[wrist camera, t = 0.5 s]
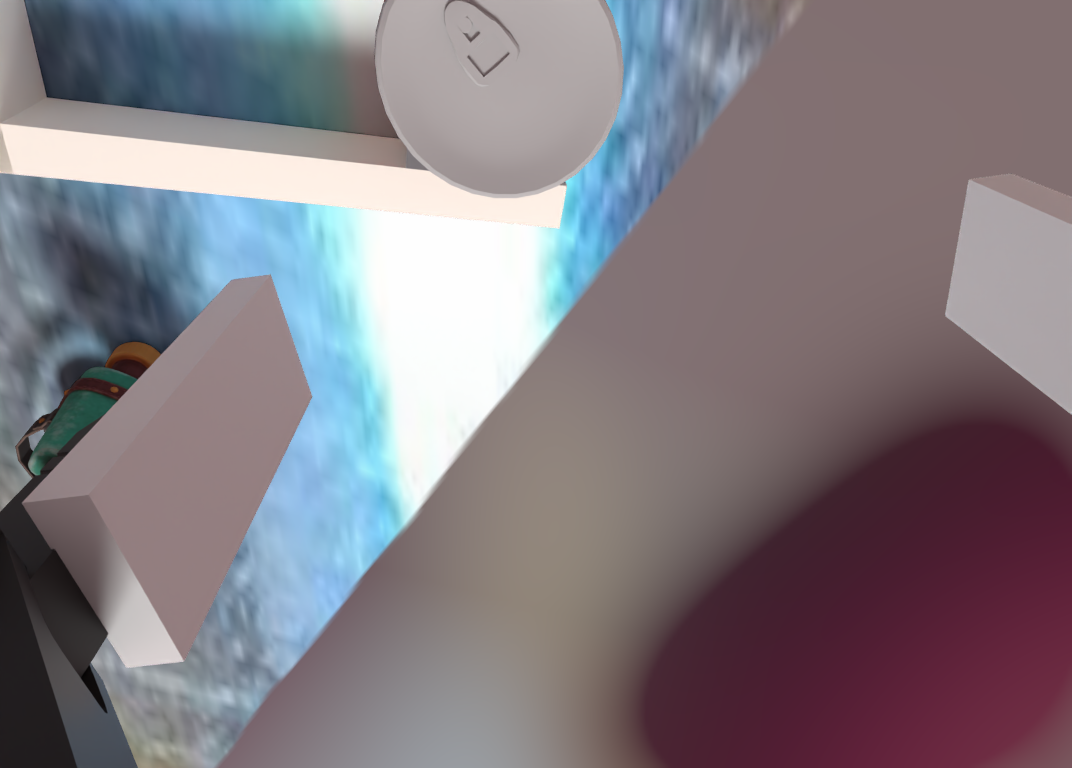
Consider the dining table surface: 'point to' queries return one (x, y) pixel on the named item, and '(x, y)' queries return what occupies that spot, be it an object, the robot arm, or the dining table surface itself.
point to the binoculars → (85, 403)
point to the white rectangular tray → (222, 152)
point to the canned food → (500, 88)
